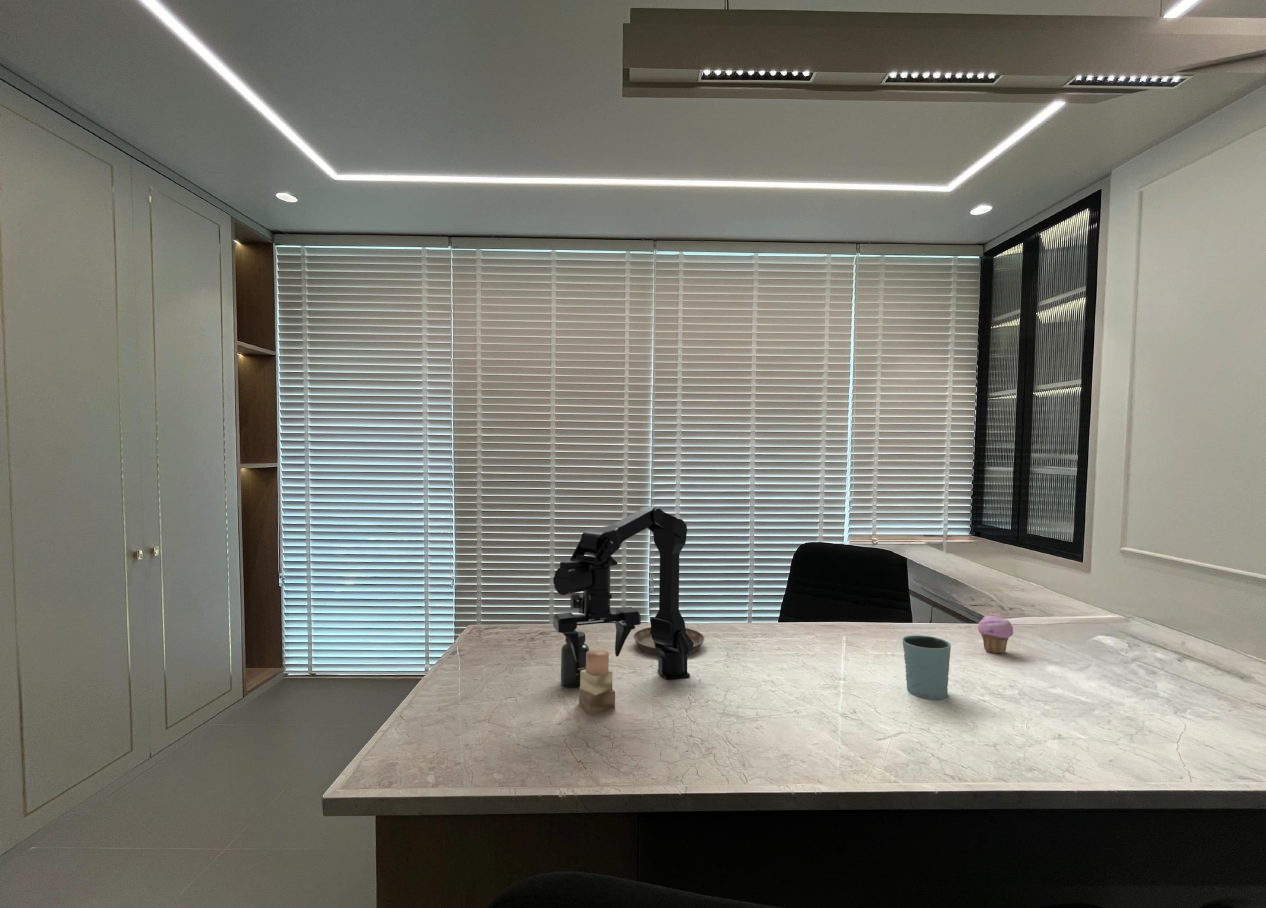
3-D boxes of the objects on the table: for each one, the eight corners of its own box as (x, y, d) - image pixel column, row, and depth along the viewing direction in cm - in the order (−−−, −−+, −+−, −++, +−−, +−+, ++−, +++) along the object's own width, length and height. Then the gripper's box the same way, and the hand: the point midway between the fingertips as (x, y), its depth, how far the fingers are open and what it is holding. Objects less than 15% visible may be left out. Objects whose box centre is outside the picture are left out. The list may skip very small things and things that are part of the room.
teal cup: (956, 692, 139) (956, 641, 139) (943, 705, 131) (943, 651, 131) (910, 681, 146) (910, 632, 146) (896, 692, 138) (896, 641, 138)
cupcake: (979, 644, 175) (979, 610, 175) (1014, 650, 170) (1014, 615, 170) (976, 652, 167) (976, 617, 168) (1012, 658, 162) (1012, 622, 163)
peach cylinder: (605, 666, 133) (605, 648, 133) (611, 673, 128) (611, 655, 128) (583, 668, 132) (583, 650, 132) (589, 676, 127) (589, 657, 127)
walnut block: (603, 699, 134) (603, 682, 134) (615, 709, 129) (615, 691, 129) (579, 704, 131) (579, 686, 132) (589, 714, 126) (589, 696, 126)
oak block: (597, 682, 134) (597, 665, 134) (612, 689, 130) (612, 670, 130) (580, 688, 130) (580, 670, 130) (595, 695, 127) (595, 676, 127)
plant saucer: (708, 659, 162) (708, 647, 162) (632, 659, 162) (633, 646, 162) (700, 636, 182) (700, 626, 182) (633, 636, 183) (633, 625, 183)
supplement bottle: (584, 689, 140) (584, 638, 140) (556, 687, 141) (557, 636, 141) (592, 678, 146) (592, 630, 147) (565, 676, 148) (566, 628, 148)
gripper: (624, 577, 141) (624, 643, 141) (547, 583, 135) (547, 651, 134) (641, 587, 131) (641, 657, 131) (559, 593, 124) (558, 668, 124)
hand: (597, 658), depth 130 cm, fingers open, 9 cm apart
